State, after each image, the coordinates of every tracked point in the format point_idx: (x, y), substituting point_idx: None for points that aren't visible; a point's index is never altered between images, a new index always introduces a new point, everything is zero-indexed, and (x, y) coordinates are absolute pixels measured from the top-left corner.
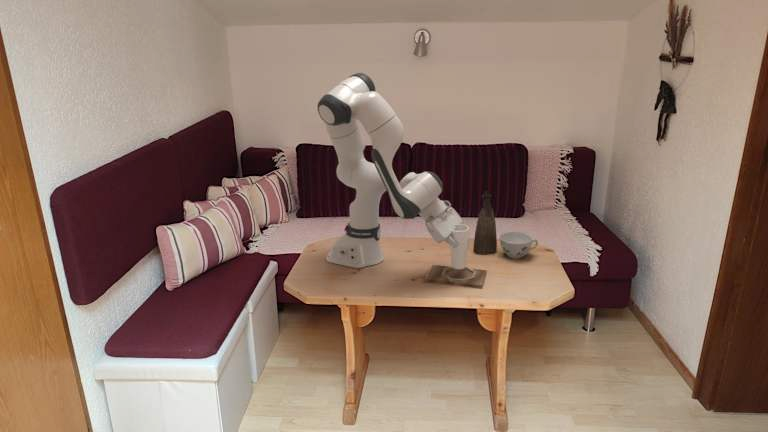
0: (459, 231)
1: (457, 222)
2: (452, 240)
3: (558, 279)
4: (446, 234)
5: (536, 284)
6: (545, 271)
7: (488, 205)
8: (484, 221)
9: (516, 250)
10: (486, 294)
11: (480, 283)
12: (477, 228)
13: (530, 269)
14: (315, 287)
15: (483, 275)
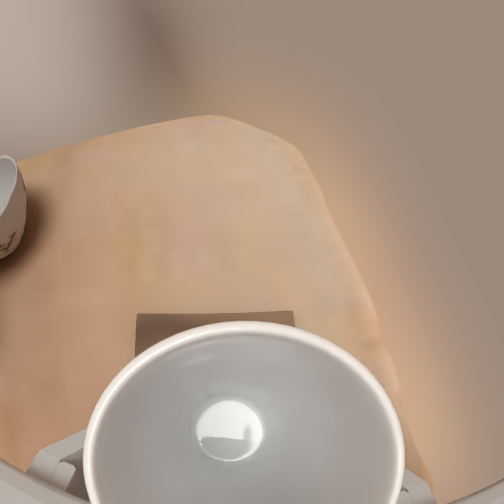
0: (400, 428)
1: (11, 502)
2: (407, 469)
3: (158, 129)
4: (499, 501)
5: (201, 165)
6: (109, 155)
7: None
8: None
9: (23, 206)
10: (329, 291)
11: (277, 319)
12: None
13: (96, 187)
14: None
15: (193, 319)
